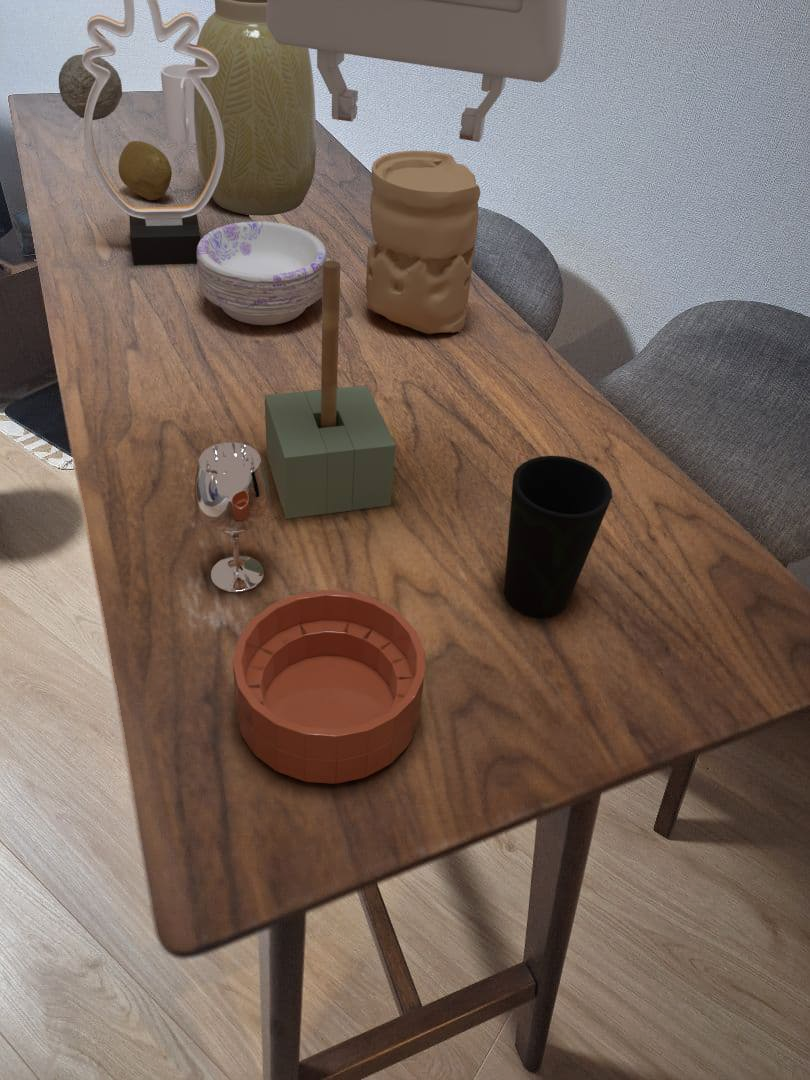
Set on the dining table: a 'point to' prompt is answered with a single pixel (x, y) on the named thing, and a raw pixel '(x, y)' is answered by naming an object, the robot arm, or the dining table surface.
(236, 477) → the wineglass
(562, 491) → the cup
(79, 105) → the decorative stone
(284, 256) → the paper bowls
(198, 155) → the vase
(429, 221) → the container
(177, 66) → the cup
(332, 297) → the stirring stick
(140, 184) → the potato
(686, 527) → the dining table surface
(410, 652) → the orange round piece
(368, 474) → the stick stand
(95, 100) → the lamp
